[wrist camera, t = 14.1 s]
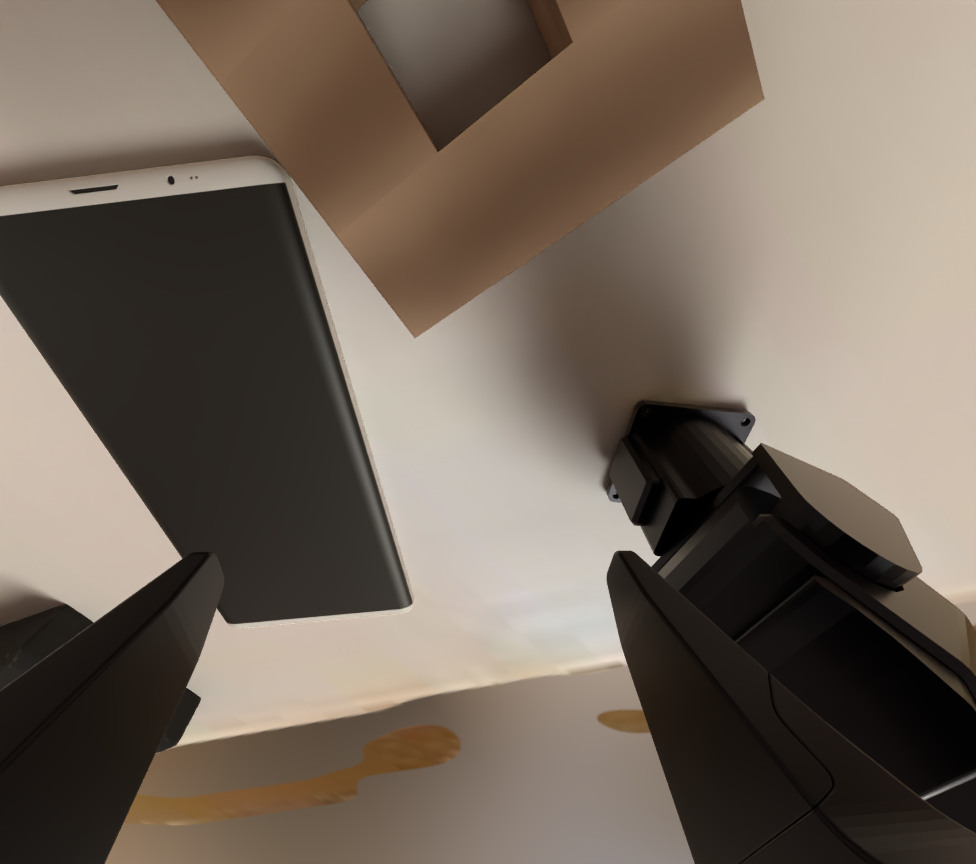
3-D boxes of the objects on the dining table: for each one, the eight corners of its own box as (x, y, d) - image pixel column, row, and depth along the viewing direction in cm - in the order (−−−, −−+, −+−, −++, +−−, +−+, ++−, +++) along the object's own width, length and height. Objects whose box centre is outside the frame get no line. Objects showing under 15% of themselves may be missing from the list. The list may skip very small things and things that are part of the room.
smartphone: (239, 611, 31) (227, 633, 29) (-33, 193, 17) (-82, 194, 15) (417, 595, 30) (414, 616, 29) (289, 154, 16) (271, 151, 15)
